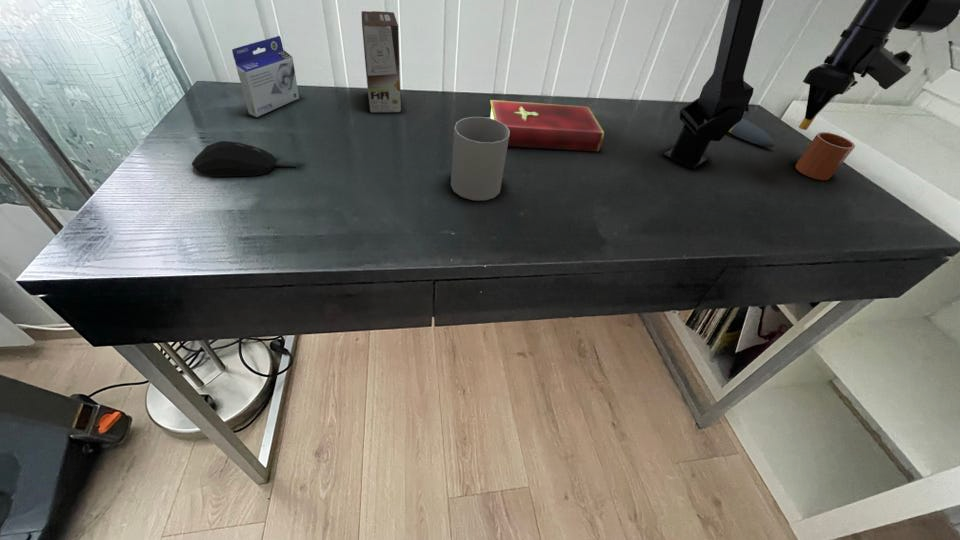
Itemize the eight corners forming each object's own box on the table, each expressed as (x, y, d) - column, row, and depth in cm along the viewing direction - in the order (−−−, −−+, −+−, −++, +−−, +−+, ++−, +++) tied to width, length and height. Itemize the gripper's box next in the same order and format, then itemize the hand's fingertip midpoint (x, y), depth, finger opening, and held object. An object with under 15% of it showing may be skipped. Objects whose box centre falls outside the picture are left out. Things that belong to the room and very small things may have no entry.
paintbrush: (775, 145, 94) (789, 124, 90) (769, 152, 91) (783, 130, 87) (691, 113, 102) (700, 92, 99) (683, 118, 99) (692, 98, 96)
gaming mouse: (293, 177, 66) (288, 154, 63) (189, 177, 63) (178, 154, 61) (298, 157, 71) (294, 134, 68) (201, 156, 68) (192, 133, 65)
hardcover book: (598, 152, 83) (605, 132, 80) (494, 146, 80) (496, 125, 77) (583, 124, 91) (588, 105, 88) (488, 118, 89) (490, 98, 86)
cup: (506, 180, 72) (516, 125, 65) (492, 205, 66) (501, 148, 59) (461, 167, 73) (465, 112, 66) (443, 191, 68) (445, 133, 61)
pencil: (805, 130, 80) (830, 94, 75) (797, 127, 81) (821, 91, 76) (808, 128, 81) (832, 92, 76) (799, 125, 82) (823, 89, 77)
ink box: (257, 118, 78) (239, 52, 70) (248, 115, 79) (228, 49, 71) (301, 98, 86) (289, 37, 78) (292, 95, 87) (279, 34, 79)
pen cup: (825, 183, 83) (850, 152, 78) (790, 169, 86) (813, 137, 81) (833, 173, 87) (858, 142, 82) (800, 159, 90) (822, 129, 85)
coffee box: (401, 112, 86) (399, 25, 75) (370, 113, 85) (362, 24, 73) (397, 94, 92) (394, 11, 81) (367, 94, 91) (360, 9, 80)
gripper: (919, 50, 60) (842, 149, 71) (937, 33, 70) (867, 122, 81) (835, 27, 65) (775, 123, 76) (863, 15, 75) (807, 101, 86)
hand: (809, 118), depth 79 cm, fingers closed on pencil, 1 cm apart
